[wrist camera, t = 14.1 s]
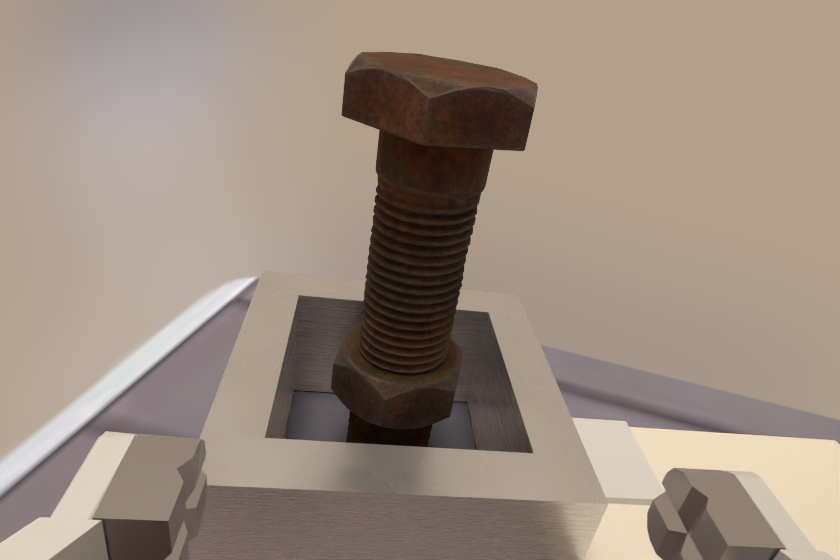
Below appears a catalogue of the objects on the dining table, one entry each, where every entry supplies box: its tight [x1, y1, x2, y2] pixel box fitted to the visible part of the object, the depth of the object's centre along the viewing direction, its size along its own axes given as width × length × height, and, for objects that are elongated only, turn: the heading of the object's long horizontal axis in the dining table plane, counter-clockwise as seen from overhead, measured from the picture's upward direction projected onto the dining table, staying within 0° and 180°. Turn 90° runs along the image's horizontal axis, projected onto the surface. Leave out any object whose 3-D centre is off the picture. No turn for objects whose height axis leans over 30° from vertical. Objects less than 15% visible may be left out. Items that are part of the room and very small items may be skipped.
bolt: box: [331, 52, 538, 447], centre depth 19 cm, size 6×5×15 cm
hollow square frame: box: [188, 271, 608, 560], centre depth 21 cm, size 12×12×5 cm
